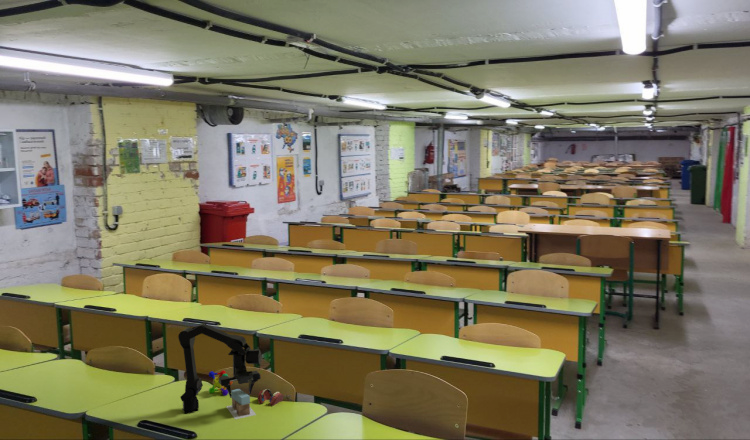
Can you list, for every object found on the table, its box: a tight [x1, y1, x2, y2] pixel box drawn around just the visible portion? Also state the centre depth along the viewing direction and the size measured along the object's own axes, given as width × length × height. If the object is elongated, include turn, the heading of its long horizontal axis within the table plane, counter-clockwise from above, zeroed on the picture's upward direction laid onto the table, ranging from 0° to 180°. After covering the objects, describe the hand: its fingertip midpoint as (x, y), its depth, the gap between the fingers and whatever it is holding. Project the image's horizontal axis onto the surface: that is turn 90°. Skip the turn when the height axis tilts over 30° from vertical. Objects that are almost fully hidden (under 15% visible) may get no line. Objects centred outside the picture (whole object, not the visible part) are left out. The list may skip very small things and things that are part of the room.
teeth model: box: [257, 388, 284, 407], centre depth 291 cm, size 8×6×12 cm
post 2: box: [236, 402, 251, 417], centre depth 277 cm, size 5×5×5 cm
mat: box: [225, 404, 257, 420], centre depth 281 cm, size 10×17×1 cm, turn 28°
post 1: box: [231, 398, 237, 410], centre depth 284 cm, size 5×5×5 cm
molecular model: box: [208, 370, 234, 397], centre depth 304 cm, size 12×7×12 cm, turn 64°
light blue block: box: [231, 388, 251, 405], centre depth 280 cm, size 12×4×4 cm, turn 37°
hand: (240, 395), depth 280 cm, fingers open, 9 cm apart
